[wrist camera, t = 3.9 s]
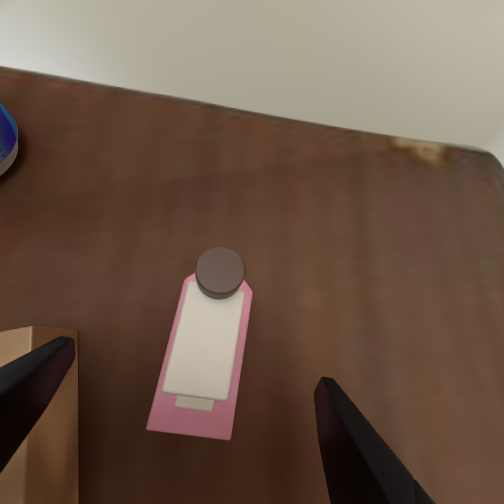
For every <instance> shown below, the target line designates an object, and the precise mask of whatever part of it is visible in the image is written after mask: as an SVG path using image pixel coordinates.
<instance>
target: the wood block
mask: <svg viewBox="0 0 504 504" xmlns="http://www.w3.org/2000/svg"><path fill="white" fill-rule="evenodd" d="M59 336H66V337H72V338H73V339H74V341H75V352H76V356H75V360H74V362H73V364H72V365H71V367H70V369H69V371H68V372H67V374H66V376H65V378H64V379H63V381H62V383H61V385H60V386H59V388H58V390H57V391H56V393H55V395H54V397H53V398H52V400H51V402H50V403H49V405H48V407H47V408H46V410H45V411H44V413H43V414H42V416H41V417H40V418H39V420H38V421H37V423H36V424H35V426H34V427H33V428H32V430H31V431H30V433H29V434H28V435H27V437H26V438H25V440H24V441H23V443H22V444H21V445H20V447H19V448H18V450H17V451H16V452H15V454H14V455H13V457H12V458H11V460H10V461H9V462H8V464H7V465H6V467H5V468H4V470H3V471H2V472H1V474H0V504H79V458H78V331H77V330H71V329H60V328H50V327H39V326H28V327H23V328H17V329H12V330H7V331H2V332H0V367H2V366H4V365H5V364H7V363H9V362H11V361H13V360H15V359H17V358H19V357H21V356H23V355H25V354H26V353H28V352H30V351H32V350H34V349H36V348H38V347H40V346H42V345H44V344H45V343H47V342H49V341H51V340H53V339H55V338H57V337H59Z"/></svg>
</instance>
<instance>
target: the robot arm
mask: <svg viewBox="0 0 504 504" xmlns="http://www.w3.org/2000/svg"><path fill="white" fill-rule="evenodd" d="M75 356H76V352H75V341H74V339H73V338H72V337H66V336H59V337H57V338H55V339H53V340H51V341H49V342H47V343H45V344H44V345H42V346H40V347H38V348H36V349H34V350H32V351H30V352H28V353H26V354H25V355H23V356H21V357H19V358H17V359H15V360H13V361H11V362H9V363H7V364H5V365H4V366H2V367H0V474H1V472H2V471H3V470H4V468H5V467H6V465H7V464H8V462H9V461H10V460H11V458H12V457H13V455H14V454H15V452H16V451H17V450H18V448H19V447H20V445H21V444H22V443H23V441H24V440H25V438H26V437H27V435H28V434H29V433H30V431H31V430H32V428H33V427H34V426H35V424H36V423H37V421H38V420H39V418H40V417H41V416H42V414H43V413H44V411H45V410H46V408H47V407H48V405H49V403H50V402H51V400H52V398H53V397H54V395H55V393H56V391H57V390H58V388H59V386H60V385H61V383H62V381H63V379H64V378H65V376H66V374H67V372H68V371H69V369H70V367H71V365H72V364H73V362H74V360H75ZM314 401H315V411H316V422H317V432H318V440H319V446H320V452H321V457H322V462H323V467H324V472H325V478H326V483H327V488H328V493H329V498H330V503H331V504H435V503H434V501H433V500H432V499H431V498H430V497H429V495H428V494H427V493H426V492H425V491H424V489H423V488H422V487H421V486H420V484H419V483H418V482H417V481H416V480H414V478H413V476H412V475H411V473H410V472H409V471H408V470H407V469H406V467H405V466H404V465H403V464H402V462H401V461H400V460H399V459H398V458H397V456H396V455H395V454H394V453H393V451H392V450H391V449H390V448H389V446H388V445H387V444H386V443H385V442H384V440H383V439H382V438H381V437H380V435H379V434H378V433H377V432H376V430H375V429H374V428H373V427H372V426H371V424H370V423H369V422H368V421H367V419H366V418H365V417H364V416H363V415H362V413H361V412H360V411H359V410H358V408H357V407H356V406H355V405H354V403H353V402H352V401H351V400H350V399H349V397H348V396H347V395H346V394H345V392H344V391H343V390H342V389H341V387H340V386H339V385H338V384H337V383H336V381H335V380H334V379H333V378H329V377H321V379H320V381H319V383H318V385H317V387H316V389H315V392H314Z"/></svg>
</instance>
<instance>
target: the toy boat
mask: <svg viewBox="0 0 504 504" xmlns="http://www.w3.org/2000/svg"><path fill="white" fill-rule="evenodd" d="M245 272H246V269H245V264H244V261H243V259H242V257H241V256H240V255H239V254H238V253H237V252H236V251H235V250H233V249H231V248H229V247H225V246H216V247H212V248H209V249H207V250H206V251H204V252H203V253H202V254H201V255H200V256H199V258H198V260H197V262H196V265H195V273H194V274H192V275H191V276H189V277H188V278H186V279H185V280H184V283H183V287H182V291H181V295H180V299H179V303H178V307H177V310H176V314H175V318H174V322H173V326H172V330H171V334H170V338H169V341H168V345H167V349H166V353H165V357H164V361H163V365H162V369H161V372H160V376H159V380H158V384H157V388H156V392H155V396H154V400H153V403H152V407H151V411H150V415H149V419H148V423H147V427H146V430H150V431H158V432H166V433H174V434H182V435H190V436H198V437H206V438H214V439H222V440H230V439H231V434H232V427H233V421H234V414H235V407H236V401H237V394H238V388H239V381H240V374H241V368H242V361H243V355H244V348H245V342H246V335H247V328H248V322H249V315H250V309H251V302H252V295H253V292H252V290H251V289H250V287H249V286H248V284H247V283H246V282H245V280H244V277H245Z"/></svg>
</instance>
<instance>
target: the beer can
mask: <svg viewBox="0 0 504 504" xmlns="http://www.w3.org/2000/svg"><path fill="white" fill-rule="evenodd" d="M17 140H18V129H17V125H16V122H15V120H14V118H13V117H12V115H11V114H10V113H9V112H8V110H7V109H6V108H5V107H4V106H3V105H2V103H1V102H0V176H1V175H2V174H3V173H4V172H5V171H6V170H8V168H9V167H10V166H11V165H12V163H13V162H14V160H15V158H16V156H17V152H18V141H17Z"/></svg>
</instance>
